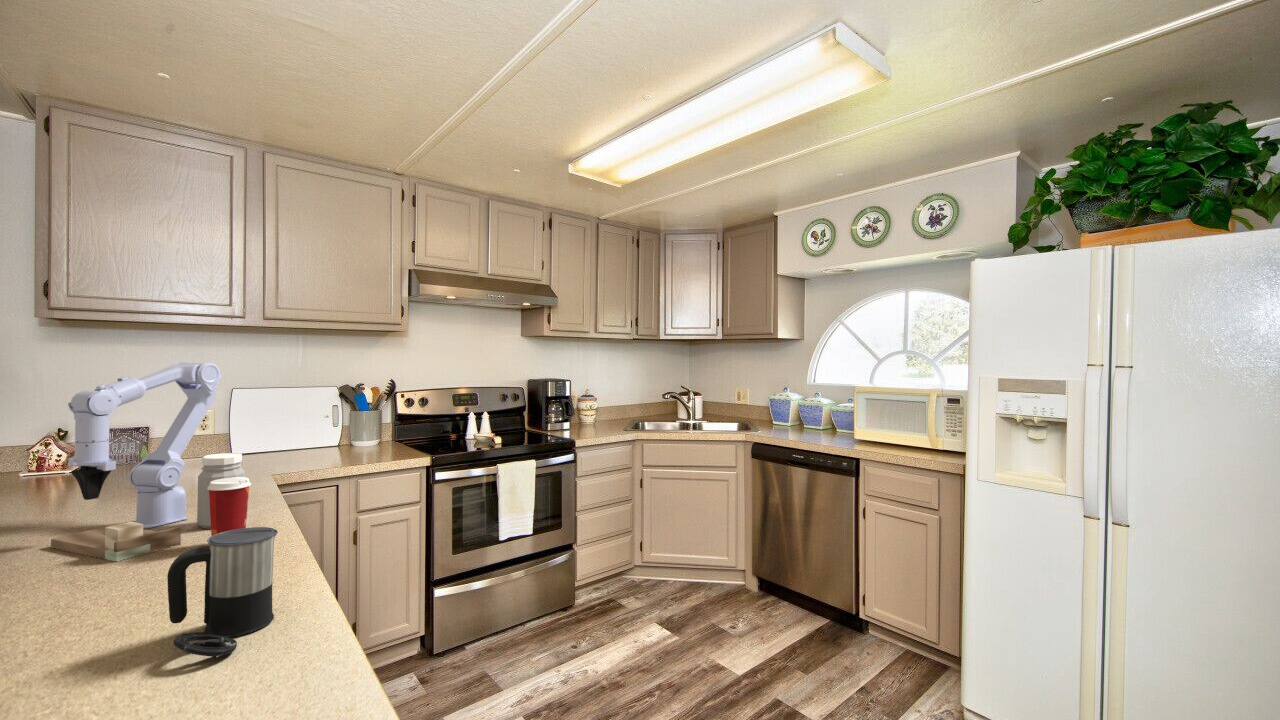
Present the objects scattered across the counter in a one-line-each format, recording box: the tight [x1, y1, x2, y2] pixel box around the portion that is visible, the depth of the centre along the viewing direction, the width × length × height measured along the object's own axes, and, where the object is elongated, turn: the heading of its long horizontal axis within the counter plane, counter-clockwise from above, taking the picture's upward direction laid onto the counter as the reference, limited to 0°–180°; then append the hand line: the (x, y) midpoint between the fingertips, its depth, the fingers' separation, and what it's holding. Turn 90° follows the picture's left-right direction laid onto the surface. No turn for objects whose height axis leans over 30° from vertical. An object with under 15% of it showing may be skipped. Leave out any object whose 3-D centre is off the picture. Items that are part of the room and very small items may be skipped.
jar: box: [196, 452, 246, 530], centre depth 142 cm, size 10×10×18 cm
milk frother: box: [166, 526, 278, 660], centre depth 84 cm, size 14×16×15 cm
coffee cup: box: [207, 476, 252, 536], centre depth 126 cm, size 8×8×15 cm
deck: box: [50, 523, 182, 562], centre depth 124 cm, size 12×24×4 cm, turn 71°
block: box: [104, 521, 144, 550], centre depth 119 cm, size 4×4×4 cm
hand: (91, 498), depth 128 cm, fingers closed
